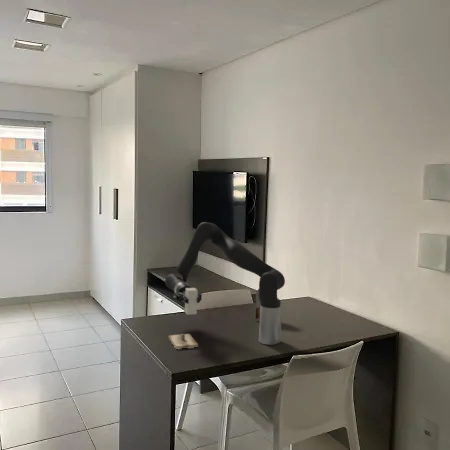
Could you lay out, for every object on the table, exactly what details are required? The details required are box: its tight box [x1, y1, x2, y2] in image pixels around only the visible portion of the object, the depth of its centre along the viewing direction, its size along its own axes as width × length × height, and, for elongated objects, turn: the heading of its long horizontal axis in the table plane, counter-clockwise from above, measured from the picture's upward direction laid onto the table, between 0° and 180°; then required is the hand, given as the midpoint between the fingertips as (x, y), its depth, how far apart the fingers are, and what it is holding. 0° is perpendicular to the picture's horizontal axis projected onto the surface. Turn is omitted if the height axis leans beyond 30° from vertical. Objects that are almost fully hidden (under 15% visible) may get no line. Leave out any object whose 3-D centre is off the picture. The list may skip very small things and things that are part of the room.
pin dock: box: [167, 333, 199, 350], centre depth 214 cm, size 10×14×4 cm
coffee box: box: [254, 288, 260, 322], centre depth 251 cm, size 9×6×16 cm
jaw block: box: [184, 287, 199, 316], centre depth 214 cm, size 4×4×11 cm
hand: (193, 301), depth 210 cm, fingers closed on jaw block, 4 cm apart
